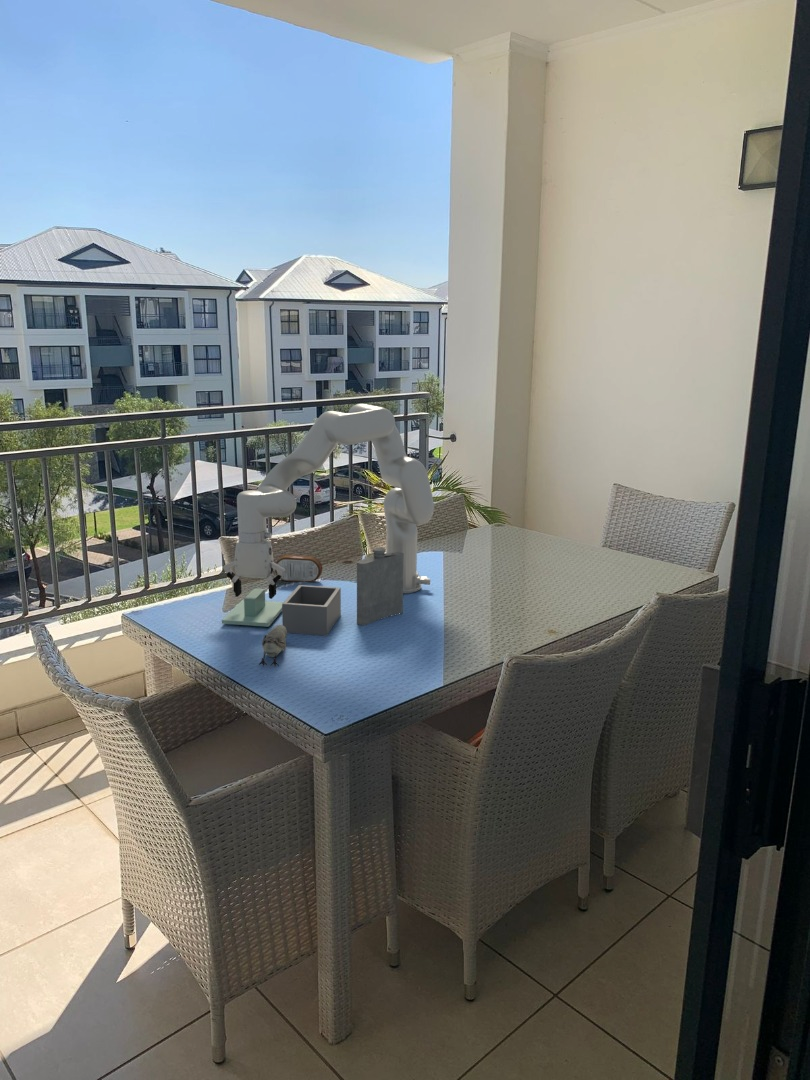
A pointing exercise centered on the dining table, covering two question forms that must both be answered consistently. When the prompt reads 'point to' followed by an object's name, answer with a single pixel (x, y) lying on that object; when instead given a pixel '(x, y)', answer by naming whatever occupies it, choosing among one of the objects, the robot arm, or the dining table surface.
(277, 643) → the decorative bird
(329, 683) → the dining table surface
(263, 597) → the lid
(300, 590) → the tub
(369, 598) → the hip flask
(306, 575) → the tin
